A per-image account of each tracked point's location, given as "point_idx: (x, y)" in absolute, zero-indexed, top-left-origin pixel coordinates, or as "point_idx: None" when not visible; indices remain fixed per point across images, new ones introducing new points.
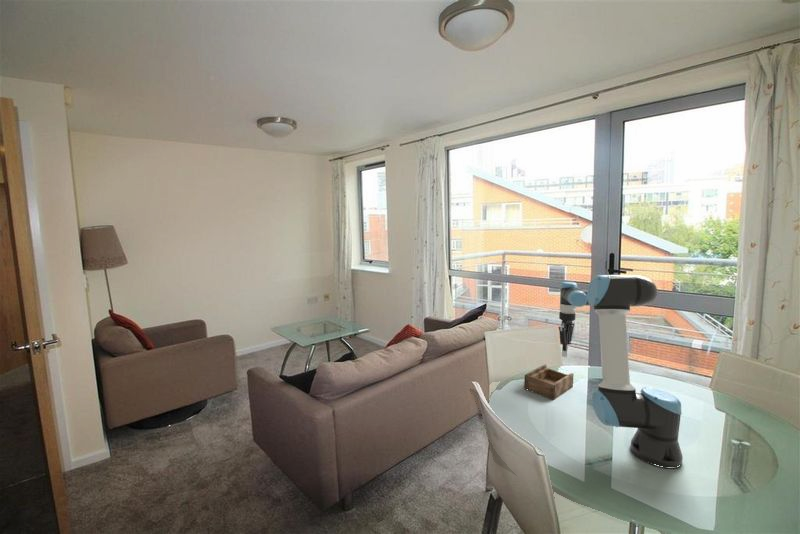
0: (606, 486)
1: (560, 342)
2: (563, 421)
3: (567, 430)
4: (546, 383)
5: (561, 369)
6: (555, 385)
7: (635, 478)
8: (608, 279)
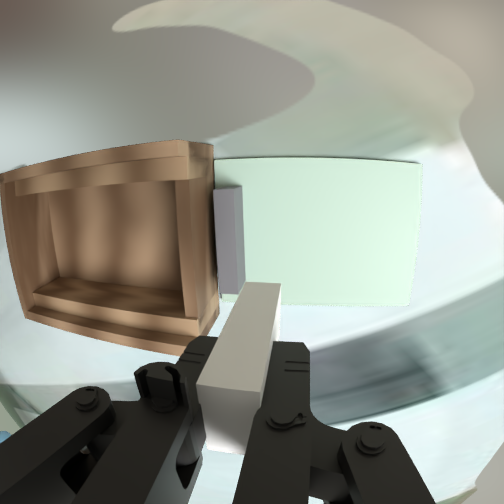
0: (10, 403)
1: (64, 402)
2: (30, 343)
3: (21, 355)
4: (18, 283)
5: (410, 172)
6: (33, 318)
7: None
8: None
